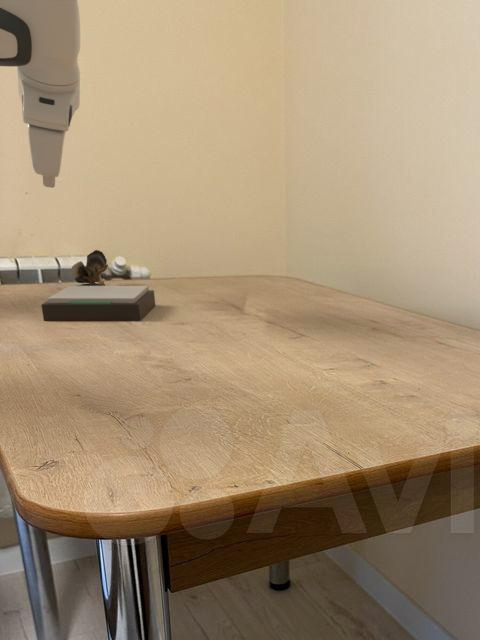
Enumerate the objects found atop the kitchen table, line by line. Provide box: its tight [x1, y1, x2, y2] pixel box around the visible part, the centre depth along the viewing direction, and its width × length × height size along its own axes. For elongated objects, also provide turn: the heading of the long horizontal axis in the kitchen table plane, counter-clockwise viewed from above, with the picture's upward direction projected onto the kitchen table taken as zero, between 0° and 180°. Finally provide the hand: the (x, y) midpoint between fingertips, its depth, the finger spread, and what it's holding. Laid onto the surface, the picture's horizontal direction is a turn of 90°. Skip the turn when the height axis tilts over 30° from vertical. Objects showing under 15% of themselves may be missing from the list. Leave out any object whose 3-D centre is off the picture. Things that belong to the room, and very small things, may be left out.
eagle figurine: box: [71, 249, 109, 286], centre depth 136 cm, size 8×7×9 cm
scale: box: [41, 285, 156, 322], centre depth 111 cm, size 14×14×3 cm
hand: (51, 168), depth 121 cm, fingers open, 8 cm apart
